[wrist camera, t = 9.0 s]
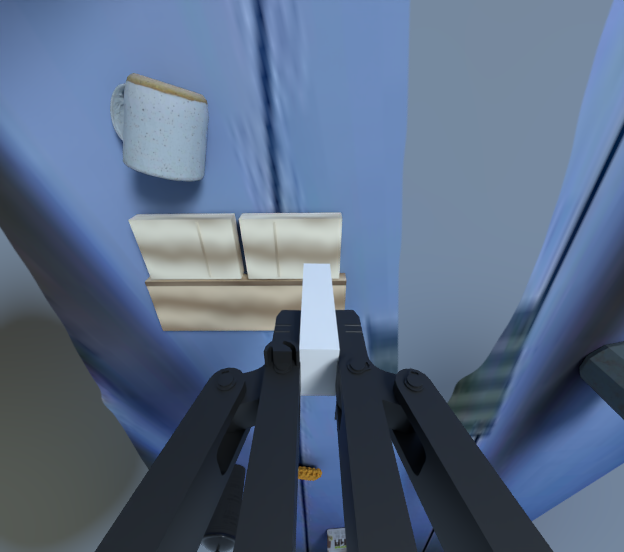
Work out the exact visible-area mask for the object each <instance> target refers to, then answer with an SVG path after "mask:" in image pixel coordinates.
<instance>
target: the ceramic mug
mask: <svg viewBox="0 0 624 552" xmlns="http://www.w3.org/2000/svg"><path fill="white" fill-rule="evenodd" d="M110 112H111V119H112V123H113V126H114V129H115V131H116V133H117V134H118V136H119V137H120V138H121V140H122V141H123V162H124V164H125V165H127V166H128V167H130V168H132V169H133V170H136V171H138V172H141V173H144V174H147V175H151V176H155V177H159V178H163V179H169V180H175V181H197V180H201V179H202V178H203V177H204V170H205V156H206V143H207V129H208V118H209V116H208V105H207V101H206V99H205V98H204V96H203V95H201V94H198V93H195V92H192V91H189V90H186V89H183V88H179V87H176V86H173V85H170V84H167V83H164V82H161V81H158V80H155V79H151V78H148V77H145V76H142V75H139V74H135V73H133V74H130V75H129V76H128V77H127V80H126V83H124V84H120V85H118V86H117V87H116V89H115V90H114V92H113V94H112V98H111V106H110Z"/></svg>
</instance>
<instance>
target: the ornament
mask: <svg viewBox="0 0 624 552" xmlns="http://www.w3.org/2000/svg"><path fill="white" fill-rule="evenodd" d="M319 475H320V476H319ZM321 475H322V472H321V470H320V469H319V468H317V469H315V468H310V467H308V468H307V467H305V466H304V467H301V466H299V467H298V479H304V480H310V481H311V480H313V481H314V480H316V479H318V478H319V477H321Z"/></svg>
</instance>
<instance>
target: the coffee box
mask: <svg viewBox="0 0 624 552" xmlns="http://www.w3.org/2000/svg"><path fill="white" fill-rule="evenodd" d="M327 546H328V552H347V550H346V536H345V528H338V529H328V530H327Z"/></svg>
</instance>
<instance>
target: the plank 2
mask: <svg viewBox="0 0 624 552" xmlns="http://www.w3.org/2000/svg"><path fill="white" fill-rule="evenodd" d="M239 223H240V230H241V236H242V242H243V248H244V254H245V260H246V266H247V273H248V279H303V267H304V263H310V264H330V269H331V278H332V279H339V270H340V250H341V231H342V216H341V213H242V215H241V217H240V218H239Z"/></svg>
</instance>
